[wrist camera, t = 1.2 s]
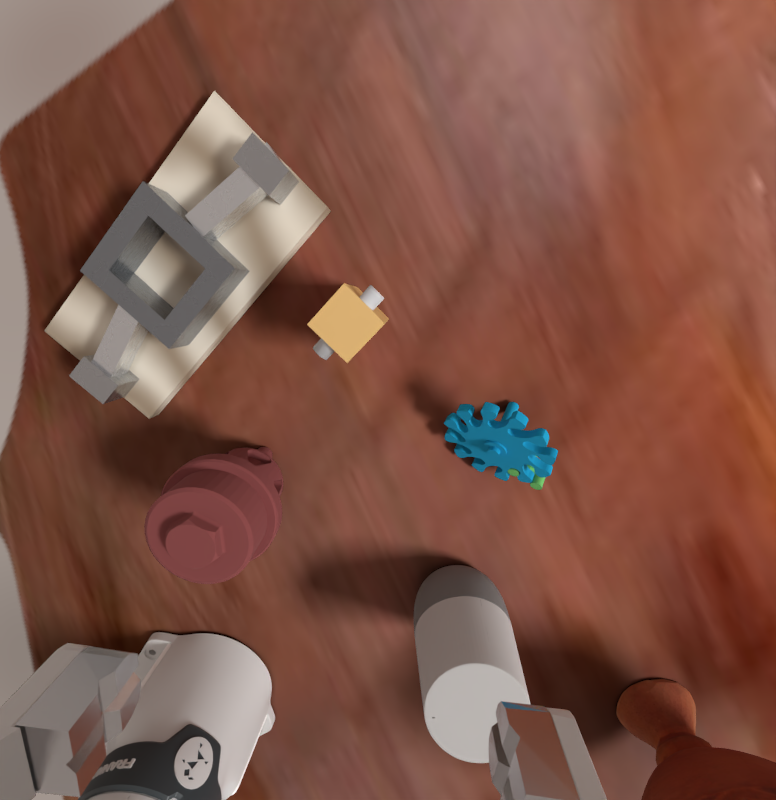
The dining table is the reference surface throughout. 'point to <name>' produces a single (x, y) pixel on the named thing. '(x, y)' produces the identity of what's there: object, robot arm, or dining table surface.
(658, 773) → the goblet
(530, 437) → the blue toothed wheel
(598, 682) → the dining table surface
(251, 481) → the mechanical component
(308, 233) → the board
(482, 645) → the smart speaker
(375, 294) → the coupler
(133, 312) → the shaft assembly
